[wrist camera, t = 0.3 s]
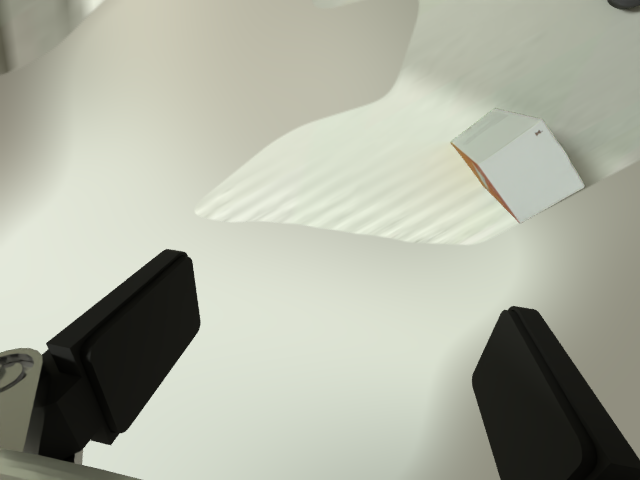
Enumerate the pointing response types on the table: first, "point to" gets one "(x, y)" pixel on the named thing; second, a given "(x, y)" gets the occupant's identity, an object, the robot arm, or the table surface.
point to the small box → (518, 162)
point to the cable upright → (624, 3)
